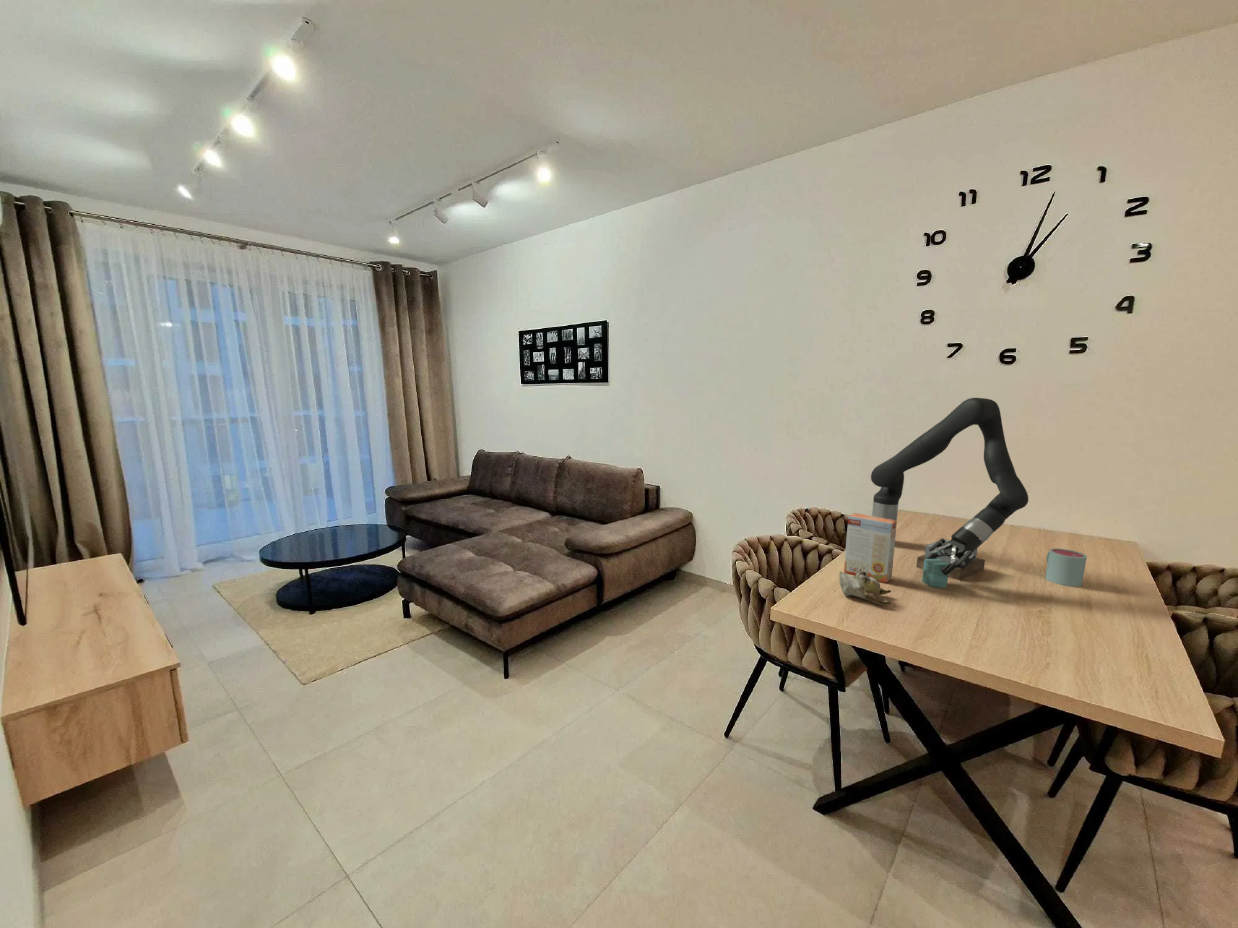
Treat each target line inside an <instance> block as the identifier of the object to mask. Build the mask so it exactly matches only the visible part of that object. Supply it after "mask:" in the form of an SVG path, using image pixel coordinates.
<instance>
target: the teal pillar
mask: <svg viewBox="0 0 1238 928" xmlns="http://www.w3.org/2000/svg"><path fill="white" fill-rule="evenodd" d="M947 564H948V563H946V562H944V561H942V560H940V559H924V568H923V569H922V579H921V582H922V583H923V584H925V585H927V586H929V587H930V588H932V589H933V588H934V589H935V588H937V589H939V588H940V589H941V588H942V589H943V588H944V589H946V588H947V587H948V580H949V577H948V574H947V575H944V574H943V573H942V572H941V569H943V568H944V567H945V566H946V565H947Z"/></svg>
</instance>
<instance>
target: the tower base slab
mask: <svg viewBox="0 0 1238 928" xmlns="http://www.w3.org/2000/svg"><path fill="white" fill-rule="evenodd" d="M924 559H925V554H921V555H919V556H917V560H916V568H917V569H920V570H923V568H924ZM985 564H986V559H983V558H981V557H980V558H979V557H976V559H975V560H973V561H971V562H970V563H969V564H968V565H967V566H966V567H965V568H964V569H961V568H955V569H954V570H953V571H951V572H950V573H949V574H948V579H949V578H950V579H952V580H956V581H961V580H964V579H966V578H968V577H971V576H974V575H975V574H978V573H980V572H983V571H985V566H986V565H985Z"/></svg>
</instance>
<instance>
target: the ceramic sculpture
mask: <svg viewBox="0 0 1238 928" xmlns="http://www.w3.org/2000/svg"><path fill="white" fill-rule="evenodd" d="M838 576H839V586H840V588H841V592H842V594H843V595H844V596H845V597H849V596H854V597H858V598H859V599H862V600H865V601H869V602H871V603H874V604H876V605H891V603H892V602H891V601H889V600H887V599H886V598H885V597H884V596H883V595H887V594H890V593H891V592H892V590H890V589H884V588H882V587H881V585H880V581H877V580H876V579H875V578H874V577H870V576H867V574H866V573H865V572H860V573H857V574H856V575H851V574H849V573H845V572H843V571H840V572H839V575H838Z"/></svg>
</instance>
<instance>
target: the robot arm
mask: <svg viewBox="0 0 1238 928" xmlns="http://www.w3.org/2000/svg"><path fill="white" fill-rule="evenodd" d="M971 426H978V427H979V429H980V432H981V434H982V436H983V441H984V442H983V444H984V447H983V462H984V466H985V468H986V471H987V474H988V478H989V480H990V481H991V482H992V483H993V484H994V485H996V487H997V489H998V492H999V493H998V494H997V495H996V496H994V498H992V500H991V501H989V503H988V504H987V505H986V507H984V508H983V509H981V510H980V511H978V513H976V514H975V515H974V516H973V517H972V518H971V519H969V520H968V521H966V522H965V523H964V524H963V525H962V526H960V527H959V528H958V529H957V530H956V531H955V532H954V533H952V534H951V536H950V537H951V539H950V541H948V542H947V541H945V540H944V539H945V538H943V537H942V538H940V539H939V540H937V541H938V542H937V541H935V542H936V543H935V544H934V545H933V546H932V547H930V548H929V550H930V552H931V554H930V555H929V556H928V557H926V558H925V559H937V558H938V557H941V556H943V557H945V556H948V557H951V563H948V564H947V565H946V566H945V567H944V568H943V569H941V572H942V573H943V574H944V575H947V574H949V573H950V572H951V571H953V570H954V569H955V568H961V569H964V568H965V567H966V566H967V565H968V564H969V563H970V562H971V561H972V560H973V559H974V558H975V557H976V556H975V555H974V554H973V553H972V552H973V551H975V550H976V549H977V548H978V549H979V547H981V545H983V544H984V543H985V542H986V541H987V540H988V539H990V537H991V536H992V535H993V534H994V533H995V532H996V531H997V530H998V529H1000V527H1002V526H1003V525H1004V523H1005V521H1006V520H1007V519H1008V518H1010V516H1012V515H1013V514H1015V512H1017V511H1019V510H1021V509H1023V508H1025V507H1026V506H1027V505H1028V503H1029V495H1028V492H1027V490H1026V487H1025V486H1024V484H1023V483H1022V481H1021V479H1020V478H1019V477H1018V475H1017V471H1016V470H1015V466H1014V464H1013V462H1012V459H1011V456H1010V454H1009V451H1008V447H1007V443H1006V439H1005V438H1006V437H1005V432H1004V426H1003V422H1002V415H1001V410H1000V405H998V403H997V402H996V401H995V400H993V399H991V398H985V397H983V398H982V397H970V398H967V399H965V400H963V401H962V402H961V403H959V405H957V407H955V408H954V409H952V411H951V412H950V413H948V414H947V416H946V417H944V418H943V419H942V420H940V421H939V422H938V423H937V424H935V425H933V426H932V427H931V428H929V429H928V430H927V431H925V432H923V434H921V435H919V436H918V437H917V438H915V439H914V440H913V441H912V442H910V443H909V444H907V445H906V446H905V447H904V448H903V449H901V450H900V451H899V452H897V454H895V455H893V456H892V457H890V458H889V459H887V460H885V461H883V462H882V463H880V464H878V465H877V466H875V467H874V468H873V470H872V471H871V475H870V480H871V482H872V484H873V485H875V486H877V487H880V489H879V490H878V491H877V492H876V493H875V494H874V495H873V502H872V511H871V512H872V513H871V516H874V517H880V518H885V519H891V520H898V513H899V511H898V510H899V504H900V503H899V501H900V499H901V497H902V495H903V490H904V482H905V472H906V471H908V470H909V471H910V469H913V468H914V469H915V468H916V467H918V466H921V465H923V464H925V463H927V462H929V461H931V460H933V459H934V458H936V457H937V456H939V455H940V454H942V453H943V452H944V451H945V450H946V449H947V448H948V446H949V445H950V443H951V441H952V440H953V439H954V437H956V436H957V435H958V434H959V433H961V432H962V431H964V430H965V429H967V428H969V427H971ZM936 547H937V549H936V550H934V549H935V548H936ZM978 549H977V550H978ZM942 550H944V552H943V551H942ZM938 552H939V554H937V553H938ZM976 558H977V557H976ZM963 561H964V563H963V564H961V563H962V562H963Z"/></svg>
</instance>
